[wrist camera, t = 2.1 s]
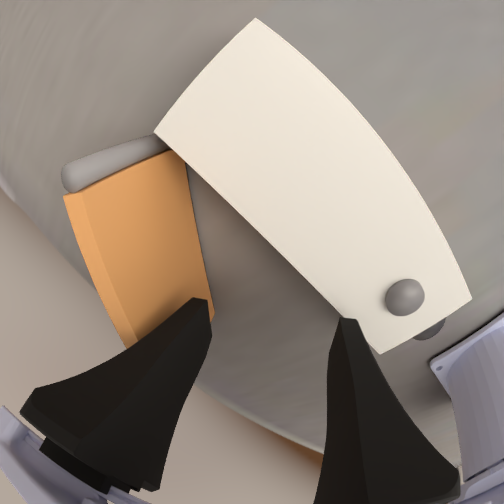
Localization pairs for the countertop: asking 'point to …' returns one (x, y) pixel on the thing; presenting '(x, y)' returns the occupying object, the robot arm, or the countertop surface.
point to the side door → (137, 232)
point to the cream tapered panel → (317, 186)
